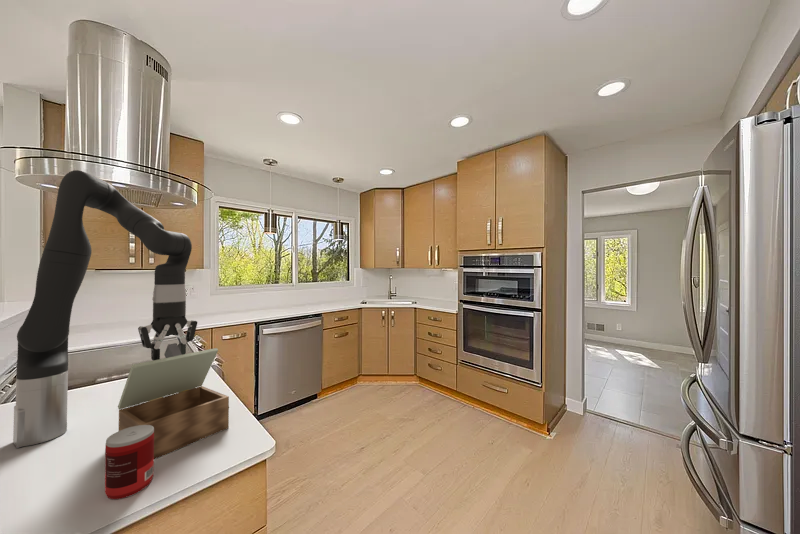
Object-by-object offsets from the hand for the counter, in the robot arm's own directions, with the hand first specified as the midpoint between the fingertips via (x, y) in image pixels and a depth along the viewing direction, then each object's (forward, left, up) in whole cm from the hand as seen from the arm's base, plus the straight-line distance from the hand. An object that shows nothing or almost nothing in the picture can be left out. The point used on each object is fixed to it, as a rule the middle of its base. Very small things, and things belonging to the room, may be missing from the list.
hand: (169, 359), depth 86 cm
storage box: (0, -5, -20) cm, 21 cm away
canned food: (-14, -20, -21) cm, 32 cm away
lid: (0, -2, -5) cm, 5 cm away
